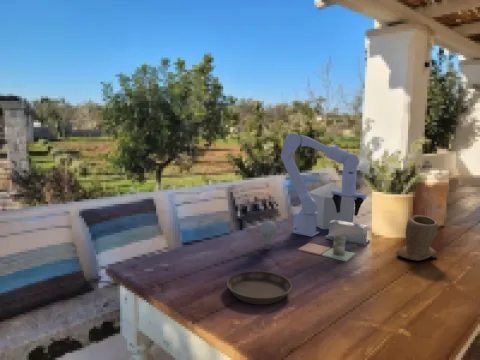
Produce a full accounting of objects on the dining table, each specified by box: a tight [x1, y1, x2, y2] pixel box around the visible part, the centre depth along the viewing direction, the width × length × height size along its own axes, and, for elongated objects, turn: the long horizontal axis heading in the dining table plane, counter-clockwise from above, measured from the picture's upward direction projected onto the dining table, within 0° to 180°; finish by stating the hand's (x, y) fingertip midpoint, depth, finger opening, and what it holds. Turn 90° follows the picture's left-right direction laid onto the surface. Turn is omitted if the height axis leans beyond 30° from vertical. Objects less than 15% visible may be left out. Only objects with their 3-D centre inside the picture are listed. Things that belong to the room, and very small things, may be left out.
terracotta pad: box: [297, 242, 332, 256], centre depth 135 cm, size 9×9×1 cm
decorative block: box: [308, 182, 356, 230], centre depth 170 cm, size 16×16×20 cm
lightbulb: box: [259, 220, 277, 251], centre depth 133 cm, size 6×6×11 cm
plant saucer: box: [226, 270, 293, 305], centre depth 99 cm, size 18×18×3 cm
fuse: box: [332, 235, 346, 256], centre depth 128 cm, size 4×4×6 cm
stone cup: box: [395, 214, 439, 262], centre depth 127 cm, size 15×12×15 cm
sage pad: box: [321, 247, 356, 262], centre depth 129 cm, size 9×9×1 cm
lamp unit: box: [324, 220, 371, 247], centre depth 146 cm, size 16×7×7 cm, turn 53°
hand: (347, 213), depth 152 cm, fingers open, 7 cm apart
